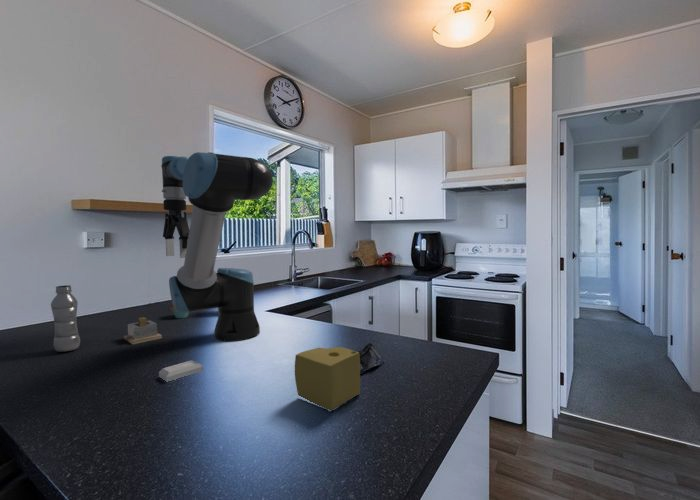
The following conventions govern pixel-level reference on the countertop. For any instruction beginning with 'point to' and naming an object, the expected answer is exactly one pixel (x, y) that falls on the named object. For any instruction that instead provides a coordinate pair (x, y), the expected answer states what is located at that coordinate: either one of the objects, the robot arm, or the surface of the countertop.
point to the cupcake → (178, 314)
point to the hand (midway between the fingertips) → (177, 256)
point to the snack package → (368, 357)
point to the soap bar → (180, 370)
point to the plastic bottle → (65, 320)
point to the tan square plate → (142, 322)
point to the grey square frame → (142, 330)
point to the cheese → (328, 375)
